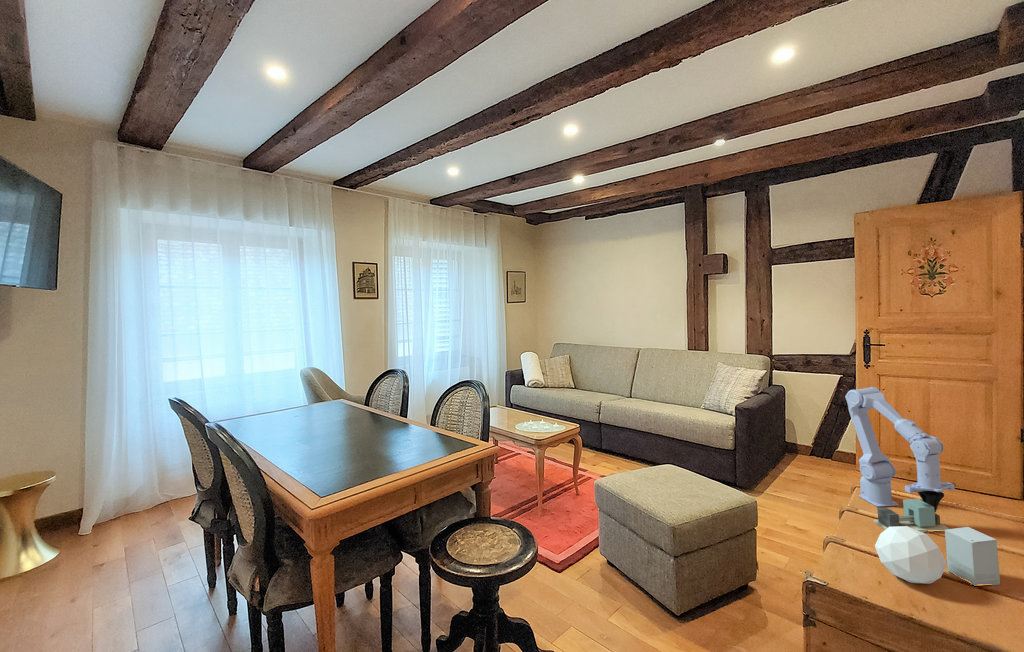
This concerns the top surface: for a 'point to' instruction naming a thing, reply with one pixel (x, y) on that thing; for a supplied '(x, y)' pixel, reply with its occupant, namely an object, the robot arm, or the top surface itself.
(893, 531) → the geometric sphere
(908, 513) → the sleeve
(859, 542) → the top surface
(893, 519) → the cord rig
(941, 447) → the robot arm
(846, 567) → the top surface
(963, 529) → the supplement box
